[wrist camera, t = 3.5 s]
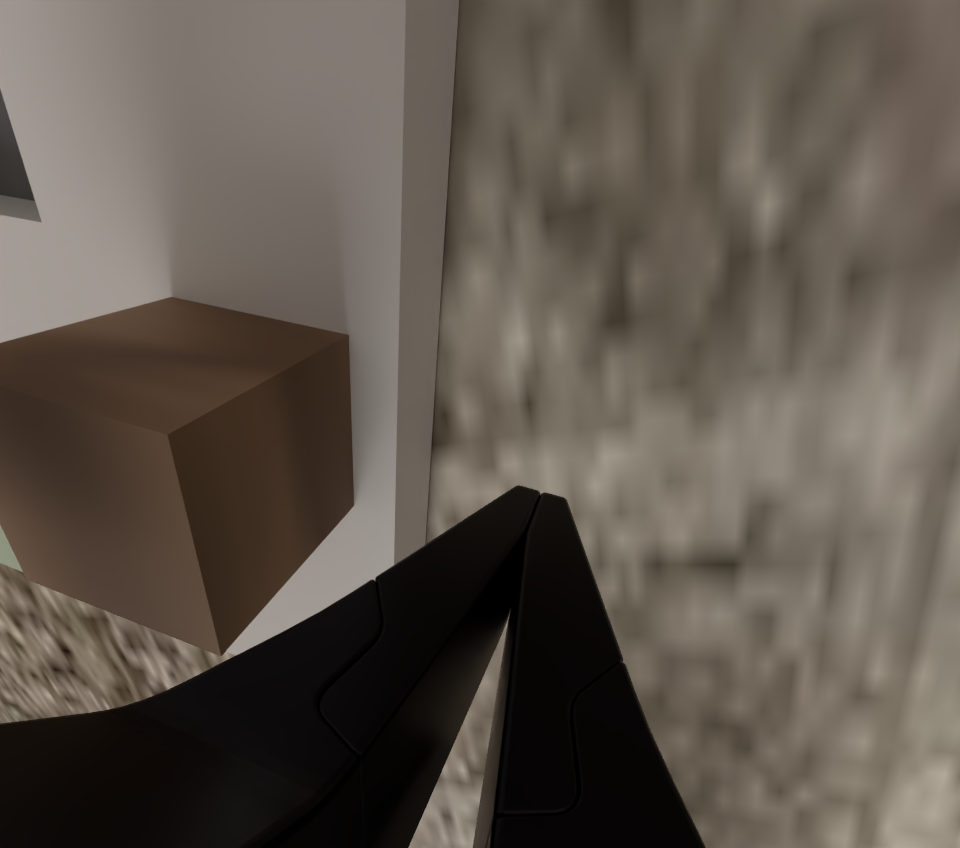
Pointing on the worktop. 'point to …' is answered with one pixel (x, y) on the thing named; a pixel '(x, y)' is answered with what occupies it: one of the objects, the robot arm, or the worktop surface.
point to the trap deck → (246, 207)
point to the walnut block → (174, 461)
